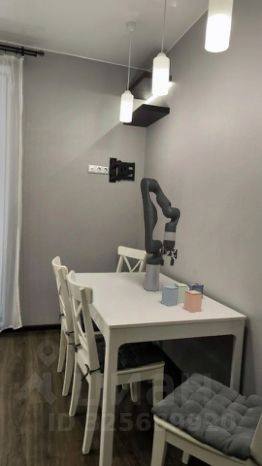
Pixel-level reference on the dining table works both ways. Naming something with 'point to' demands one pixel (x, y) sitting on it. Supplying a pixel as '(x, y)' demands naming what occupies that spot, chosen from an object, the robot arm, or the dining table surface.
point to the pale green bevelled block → (181, 291)
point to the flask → (196, 287)
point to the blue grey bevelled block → (169, 295)
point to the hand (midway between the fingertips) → (166, 265)
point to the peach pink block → (193, 301)
